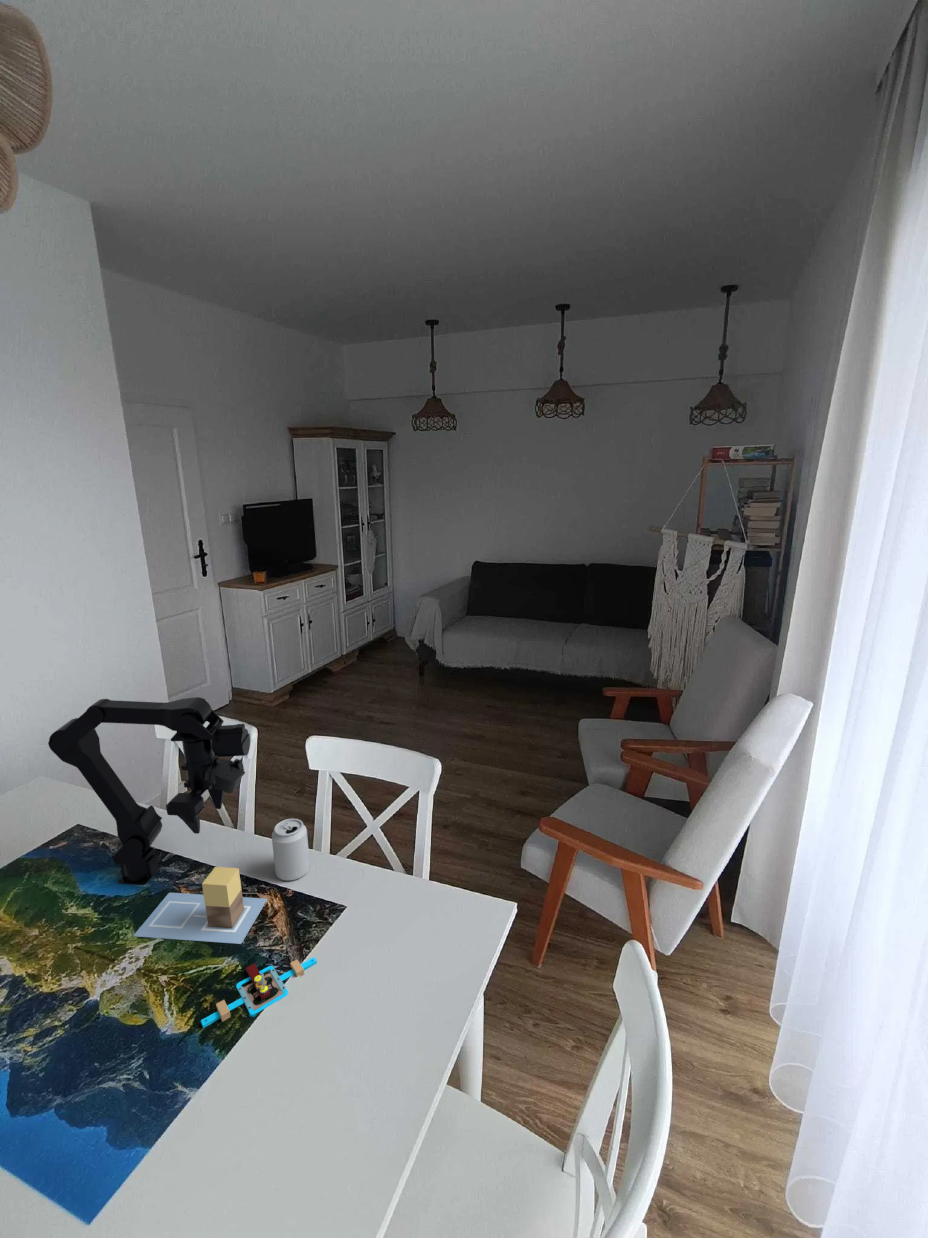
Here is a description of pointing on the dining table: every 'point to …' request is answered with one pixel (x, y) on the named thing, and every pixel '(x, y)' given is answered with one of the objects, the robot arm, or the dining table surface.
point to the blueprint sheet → (196, 920)
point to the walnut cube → (225, 913)
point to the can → (290, 849)
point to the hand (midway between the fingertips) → (208, 820)
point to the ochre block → (221, 887)
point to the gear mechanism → (260, 987)
